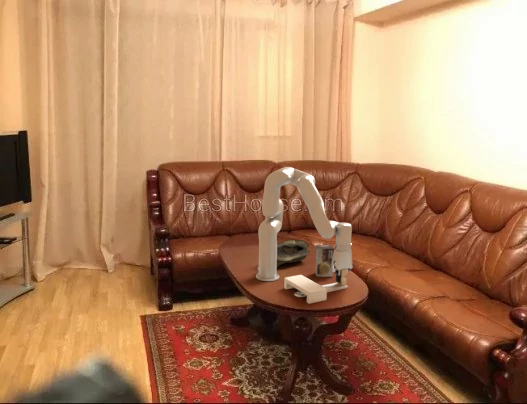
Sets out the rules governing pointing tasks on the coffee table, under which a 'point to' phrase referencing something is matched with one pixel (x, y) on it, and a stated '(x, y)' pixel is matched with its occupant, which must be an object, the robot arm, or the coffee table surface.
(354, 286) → the coffee table surface
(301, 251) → the hollow geode rock
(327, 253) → the coffee box
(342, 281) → the white-handled mallet
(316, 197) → the robot arm
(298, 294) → the token
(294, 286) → the cream flanged plate
